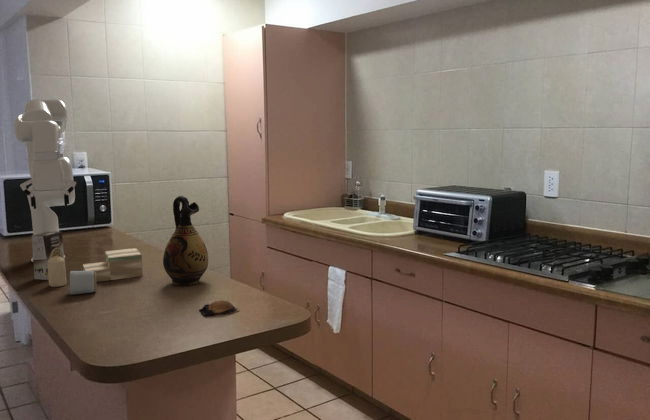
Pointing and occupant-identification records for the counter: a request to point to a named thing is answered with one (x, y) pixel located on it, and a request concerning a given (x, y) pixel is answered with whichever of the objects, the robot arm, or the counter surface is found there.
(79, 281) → the ceramic mug
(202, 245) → the painted pottery vase
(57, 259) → the candle
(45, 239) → the coffee box
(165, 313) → the counter surface
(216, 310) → the turtle figurine
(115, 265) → the step stand
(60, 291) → the counter surface
